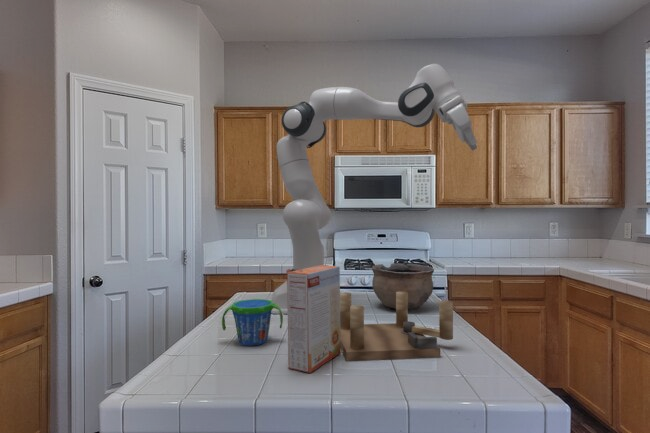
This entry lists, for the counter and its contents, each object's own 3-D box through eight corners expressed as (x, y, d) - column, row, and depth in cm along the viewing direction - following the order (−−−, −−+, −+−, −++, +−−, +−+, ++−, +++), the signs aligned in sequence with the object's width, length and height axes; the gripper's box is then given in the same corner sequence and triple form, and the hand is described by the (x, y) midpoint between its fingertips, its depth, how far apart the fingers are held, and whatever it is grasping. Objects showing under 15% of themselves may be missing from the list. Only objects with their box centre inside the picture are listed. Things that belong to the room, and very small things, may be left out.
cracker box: (320, 349, 93) (320, 264, 93) (341, 353, 90) (341, 265, 90) (285, 368, 81) (285, 270, 81) (309, 374, 78) (309, 272, 78)
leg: (401, 330, 100) (401, 297, 100) (406, 328, 102) (406, 295, 102) (450, 340, 91) (450, 303, 92) (454, 337, 94) (454, 301, 94)
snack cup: (216, 348, 93) (217, 307, 93) (228, 335, 104) (228, 298, 104) (280, 349, 93) (280, 307, 93) (285, 336, 103) (285, 298, 104)
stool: (346, 361, 85) (346, 310, 85) (333, 332, 107) (333, 292, 107) (440, 357, 87) (440, 307, 87) (408, 329, 109) (408, 290, 109)
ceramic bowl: (419, 300, 149) (418, 262, 150) (445, 313, 128) (445, 269, 128) (364, 302, 146) (364, 263, 146) (383, 316, 124) (382, 271, 124)
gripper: (445, 123, 129) (466, 157, 126) (439, 106, 110) (464, 146, 107) (462, 112, 127) (484, 147, 124) (460, 93, 108) (485, 133, 105)
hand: (474, 146), depth 115 cm, fingers open, 8 cm apart
